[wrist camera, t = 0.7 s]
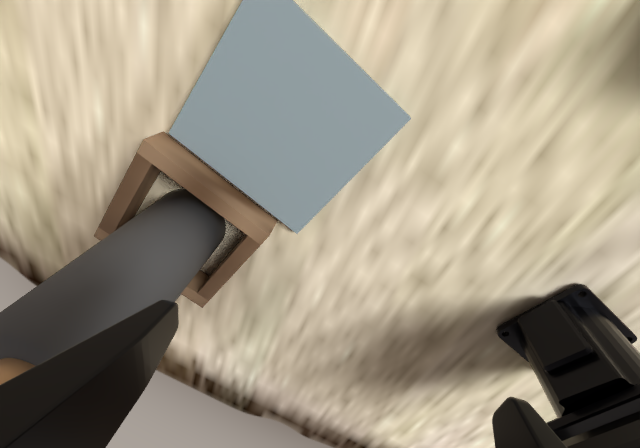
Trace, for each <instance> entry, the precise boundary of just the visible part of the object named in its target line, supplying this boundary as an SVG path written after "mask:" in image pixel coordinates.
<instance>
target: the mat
mask: <svg viewBox="0 0 640 448" xmlns="http://www.w3.org/2000/svg"><path fill="white" fill-rule="evenodd" d="M410 119H411V117H410V116H409V115H408V114H407V113H406V112H405V111H404V110H403V109H402V108H401V107H400V106H399V105H398V104H397V103H396V102H395V101H394V100H393V99H392V98H391V97H390V96H389V95H388V94H387V93H386V92H385V91H384V90H383V89H382V88H381V87H380V86H379V85H378V84H377V83H376V82H375V81H374V80H373V79H372V78H371V77H370V76H369V75H368V74H367V73H366V72H365V71H364V70H363V69H362V68H361V67H360V66H359V65H358V64H357V63H356V62H355V61H354V60H353V59H352V58H351V57H350V56H348V55H347V54H346V53H345V52H344V51H343V50H342V49H341V48H340V47H339V46H338V45H337V44H336V43H335V42H334V41H333V40H332V39H331V38H330V37H329V36H328V35H327V34H326V33H325V32H324V31H323V30H322V29H321V28H320V27H319V26H318V25H317V24H316V23H315V22H314V21H313V20H312V19H311V18H310V17H309V16H308V15H307V14H306V13H305V12H304V11H303V10H302V9H301V8H300V7H299V6H298V5H297V4H296V3H295V2H294V1H293V0H242V2H241V4H240V6H239V8H238V9H237V11H236V13H235V15H234V17H233V18H232V20H231V22H230V24H229V26H228V27H227V29H226V31H225V33H224V35H223V36H222V38H221V40H220V42H219V43H218V45H217V47H216V49H215V51H214V52H213V54H212V56H211V58H210V60H209V61H208V63H207V65H206V67H205V69H204V70H203V72H202V74H201V76H200V78H199V79H198V81H197V83H196V85H195V87H194V88H193V90H192V92H191V94H190V96H189V97H188V99H187V101H186V103H185V104H184V106H183V108H182V110H181V112H180V113H179V115H178V117H177V119H176V121H175V122H174V124H173V126H172V128H171V130H170V131H169V134H170V135H171V136H173V137H174V138H175V139H177V140H178V141H179V142H180V143H182V144H183V145H184V146H185V147H187V148H188V149H189V150H191V151H192V152H193V153H194V154H196V155H197V156H198V157H199V158H201V159H202V160H203V161H205V162H206V163H207V164H208V165H210V166H211V167H212V168H214V169H215V170H216V171H217V172H219V173H220V174H221V175H222V176H224V177H225V178H226V179H228V180H229V181H230V182H231V183H233V184H234V185H235V186H236V187H238V188H239V189H240V190H242V191H243V192H244V193H245V194H247V195H248V196H249V197H250V198H252V199H253V200H254V201H256V202H257V203H258V204H259V205H261V206H262V207H263V208H264V209H266V210H267V211H268V212H270V213H271V214H272V215H273V216H275V217H276V218H277V219H278V220H280V221H281V222H282V223H284V224H285V225H286V226H287V227H289V228H290V229H291V230H293V231H294V232H295V233H296V234H297V233H298V232H299V231H300V230H301V229H302V228H303V227H304V226H305V225H306V224H307V223H308V222H309V221H310V220H311V219H312V218H313V217H314V216H315V215H316V214H317V213H318V212H319V211H320V210H321V209H322V208H323V207H324V206H325V205H326V204H327V203H328V202H329V201H330V200H331V199H332V198H333V197H334V196H335V195H336V194H337V193H338V192H339V191H340V190H341V189H342V188H343V187H344V186H345V185H346V184H347V183H348V182H349V181H350V180H351V179H352V178H353V177H354V176H355V175H356V174H357V173H358V172H359V171H360V170H361V169H362V168H363V167H364V166H365V165H366V164H367V163H368V162H369V161H370V160H371V159H372V158H373V157H374V156H375V155H376V154H377V153H378V152H379V151H380V150H381V149H382V148H383V147H384V146H385V145H386V143H387V142H388V141H389V140H390V139H391V138H392V137H393V136H394V135H395V134H396V133H397V132H398V131H399V130H400V129H401V128H402V127H403V126H404V125H405V124H406V123H407V122H408V121H409V120H410Z"/></svg>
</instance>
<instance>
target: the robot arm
mask: <svg viewBox="0 0 640 448" xmlns="http://www.w3.org/2000/svg"><path fill="white" fill-rule="evenodd" d="M579 292H581V293H579ZM177 328H178V305H177V303H175V302H172V301H168V300H160V301H157V302H156V303H154V304H152V305H150V306H148V307H146V308H144V309H142V310H141V311H139V312H137V313H135V314H133V315H131V316H129V317H127V318H125V319H124V320H122V321H120V322H118V323H116V324H114V325H112V326H110V327H108V328H107V329H105V330H103V331H101V332H99V333H97V334H95V335H93V336H91V337H90V338H88V339H86V340H84V341H82V342H80V343H78V344H76V345H74V346H73V347H71V348H69V349H67V350H65V351H63V352H61V353H59V354H57V355H56V356H54V357H52V358H50V359H48V360H46V361H44V362H42V363H40V364H39V365H37V366H35V367H33V368H31V369H29V370H27V371H25V372H23V373H22V374H20V375H18V376H16V377H14V378H12V379H10V380H8V381H6V382H5V383H3V384H1V385H0V448H106V446H107V445H108V443H109V442H110V440H111V439H112V437H113V436H114V434H115V433H116V431H117V430H118V428H119V427H120V425H121V424H122V422H123V421H124V419H125V418H126V416H127V415H128V413H129V412H130V411H131V409H132V408H133V406H134V405H135V403H136V402H137V400H138V399H139V397H140V396H141V394H142V393H143V391H144V390H145V388H146V386H147V385H148V383H149V381H150V379H151V378H152V376H153V373H154V372H155V370H156V368H157V366H158V365H159V363H160V361H161V359H162V357H163V355H164V353H165V352H166V350H167V348H168V346H169V344H170V342H171V340H172V339H173V337H174V335H175V333H176V331H177ZM496 332H497V334H498V336H499V337H500V338H501V339H502V340H503V341H504V342H506V343H507V344H508V345H509V346H510V347H511V348H513V349H514V350H515V351H516V352H517V353H519V354H520V355H521V356H522V357H523V358H524V359H526V360H527V361H528V362H529V363H530V364H531V366H532V368H533V370H534V372H535V374H536V376H537V378H538V380H539V382H540V384H541V386H542V388H543V390H544V392H545V394H546V396H547V398H548V400H549V401H550V403H551V405H552V407H553V409H554V411H555V413H556V415H557V417H558V418H556V419H554V420H552V421H549V422H547V423H546V422H545V421H544V420H543V419H542V418H541V417H540V415H539V414H538V413H537V412H536V411H535V410H534V408H533V407H532V406H531V405H530V404H529V403H528V402H526V401H524V400H521V399H517V398H514V397H509V398H507V399H506V400H505V401H504V402H503V403H502V405H501V406H500V407H499V408H498V409H497V410H496V411H495V413H494V415H493V419H492V424H493V432H494V440H495V448H640V353H639V352H638V351H637V350H636V348H635V347H634V346H633V345H632V343H634V342H635V341H636V340H637V337H636V336H635V334H634V333H633V332H632V331H631V330H630V329H629V328H628V327H627V326H626V325H625V324H624V323H623V322H622V321H621V320H620V319H619V318H618V317H617V316H616V315H615V314H614V313H613V312H612V311H611V310H610V309H609V308H608V307H607V306H606V305H605V304H604V303H603V302H602V301H601V300H600V299H599V298H598V297H597V296H596V295H595V294H594V293H593V292H592V291H591V290H590V289H589V288H588V287H587V286H585V285H582V284H579V285H576V286H573V287H571V288H570V289H568V290H566V291H564V292H562V293H560V294H558V295H557V296H555V297H553V298H551V299H549V300H547V301H545V302H543V303H542V304H540V305H538V306H536V307H534V308H532V309H530V310H528V311H527V312H525V313H523V314H521V315H519V316H517V317H515V318H514V319H512V320H510V321H508V322H506V323H504V324H502V325H500V326H499V327H497V329H496Z"/></svg>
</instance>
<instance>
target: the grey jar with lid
mask: <svg viewBox="0 0 640 448" xmlns="http://www.w3.org/2000/svg"><path fill="white" fill-rule="evenodd" d="M225 230H226V226H225V221H224V217H222V216H221V215H220V214H218V213H217V212H216V211H214V210H213V209H212V208H210V207H209V206H208V205H206V204H205V203H204V202H202V201H201V200H200V199H198V198H197V197H196V196H194V195H193V194H192V193H190V192H189V191H188V190H186V189H178V190H174V191H171V192H169V193H168V194H166V195H165V196H163V197H162V198H161V199H159V200H158V201H156V202H155V203H154V204H152V205H151V206H149V207H148V208H147V209H145V210H144V211H142V212H141V213H139V214H138V215H137V216H135V217H134V218H132V219H131V220H130V221H128V222H127V223H125V224H124V225H123V226H121V227H120V228H118V229H117V230H116V231H114V232H113V233H111V234H110V235H109V236H107V237H106V238H104V239H103V240H102V241H100V242H99V243H97V244H96V245H94V246H93V247H92V248H90V249H89V250H87V251H86V252H85V253H83V254H82V255H80V256H79V257H78V258H76V259H75V260H73V261H72V262H71V263H69V264H68V265H66V266H65V267H64V268H62V269H61V270H59V271H58V272H56V273H55V274H54V275H52V276H51V277H49V278H48V279H47V280H45V281H44V282H42V283H41V284H40V285H38V286H37V287H35V288H34V289H33V290H31V291H30V292H28V293H27V294H26V295H24V296H23V297H21V298H20V299H19V300H17V301H16V302H14V303H13V304H12V305H10V306H9V307H7V308H6V309H4V310H3V311H2V312H0V385H1V384H3V383H5V382H6V381H8V380H10V379H12V378H14V377H16V376H18V375H20V374H22V373H23V372H25V371H27V370H29V369H31V368H33V367H35V366H37V365H39V364H40V363H42V362H44V361H46V360H48V359H50V358H52V357H54V356H56V355H57V354H59V353H61V352H63V351H65V350H67V349H69V348H71V347H73V346H74V345H76V344H78V343H80V342H82V341H84V340H86V339H88V338H90V337H91V336H93V335H95V334H97V333H99V332H101V331H103V330H105V329H107V328H108V327H110V326H112V325H114V324H116V323H118V322H120V321H122V320H124V319H125V318H127V317H129V316H131V315H133V314H135V313H137V312H139V311H141V310H142V309H144V308H146V307H148V306H150V305H152V304H154V303H156V302H157V301H160V300H168V301H172V302H175V301H176V300H177V298H178V297H179V296H180V294H181V293H182V292H183V291H184V289H185V288H186V287H187V285H188V284H189V283H190V282H191V280H192V279H193V278H194V276H195V275H196V274H197V272H198V271H199V270H200V269H201V267H202V266H203V265H204V263H205V262H206V261H207V260H208V258H209V257H210V256H211V254H212V253H213V252H214V251H215V249H216V248H217V247H218V245H219V244H220V243H221V241H222V240H223V238H224V236H225Z"/></svg>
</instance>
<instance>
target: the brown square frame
mask: <svg viewBox="0 0 640 448" xmlns="http://www.w3.org/2000/svg"><path fill="white" fill-rule="evenodd" d="M160 171H162V172H164V173H165V174H166V175H168V176H169V177H170V178H172V179H173V180H174V181H176V182H177V183H178V184H180V185H181V186H182V187H184V188H185V189H186V190H188V191H189V192H190V193H192V194H193V195H194V196H196V197H197V198H198V199H200V200H201V201H202V202H204V203H205V204H206V205H208V206H209V207H210V208H212V209H213V210H214V211H216V212H217V213H218V214H220V215H221V216H222V217H224V218H225V219H226V220H228V221H229V222H230V223H232V224H233V225H234V226H236V227H237V228H238V229H240V230H241V231H242V232H244V233H245V234H246V235H245V236H244V237H243V238H242V239H241V241H240V242H239V243H238V244H237V245H236V246H235V248H234V249H233V250H232V251H231V252H230V253H229V254H228V256H227V257H226V258H225V259H224V260H223V261H222V262H221V264H220V265H219V266H218V267H217V268H216V269H215V270H214V272H213V273H212V274H211V275H210V276H208V275H206V274H205V273H204V272H202V271H201V270H199V271H198V272H197V274H196V275H195V276H194V278H193V279H192V280H191V282H190V283H189V284H188V285H187V287H186V288H185V289H184V291H183V292H182V293H181V294H182V295H184V296H185V297H187V298H188V299H190V300H191V301H193V302H194V303H196V304H197V305H199V306H200V307H202V308H203V306H204V305H205V304H206V303H207V302H208V301H209V300H210V299H211V298H212V297H213V296H214V295H215V294H216V292H217V291H218V290H219V289H220V288H221V287H222V286H223V285H224V284H225V283H226V282H227V281H228V280H229V278H230V277H231V276H232V275H233V274H234V273H235V272H236V271H237V270H238V269H239V268H240V267H241V266H242V264H243V263H244V262H245V261H246V260H247V259H248V258H249V257H250V256H251V255H252V254H253V253H254V252H255V250H256V249H257V248H258V247H259V246H260V245H261V244H262V243H263V242H264V241H265V240H266V239H267V238H268V236H269V235H270V233H271V232H272V230H273V228H274V226H275V224H276V222H277V220H276V219H275V218H273V217H272V216H271V215H269V214H268V213H267V212H266V211H264V210H263V209H262V208H261V207H259V206H258V205H257V204H255V203H254V202H253V201H252V200H250V199H249V198H248V197H246V196H245V195H244V194H243V193H241V192H240V191H239V190H238V189H236V188H235V187H234V186H232V185H231V184H230V183H229V182H227V181H226V180H225V179H223V178H222V177H221V176H220V175H218V174H217V173H216V172H215V171H213V170H212V169H211V168H209V167H208V166H207V165H206V164H204V163H203V162H202V161H200V160H199V159H198V158H197V157H195V156H194V155H193V154H192V153H190V152H189V151H188V150H186V149H185V148H184V147H183V146H181V145H180V144H179V143H177V142H176V141H175V140H174V139H172V138H171V137H170V136H169V135H167V134H166V133H165V132H161V133H159V134H156V135H154V136H151V137H149V138H146V139H144V140H143V141H142V143H141V145H140V147H139V149H138V151H137V153H136V155H135V157H134V159H133V161H132V163H131V165H130V167H129V169H128V171H127V172H126V174H125V176H124V178H123V180H122V182H121V184H120V186H119V188H118V190H117V192H116V194H115V196H114V198H113V200H112V202H111V203H110V205H109V207H108V209H107V211H106V213H105V215H104V217H103V219H102V221H101V223H100V225H99V227H98V229H97V231H96V233H95V234H94V237H96V238H97V239H99V240H101V241H102V240H103V239H104V238H106V237H107V236H109V235H110V234H111V233H113V232H114V231H116V230H117V229H118V228H120V227H121V226H123V225H124V224H125V223H127V222H128V221H130V220H131V219H132V218H133V217H134V216H135V214H136V212H137V211H138V209H139V207H140V205H141V204H142V202H143V200H144V199H145V197H146V195H147V193H148V192H149V190H150V188H151V187H152V185H153V183H154V181H155V180H156V178H157V176H158V175H159V173H160Z"/></svg>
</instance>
